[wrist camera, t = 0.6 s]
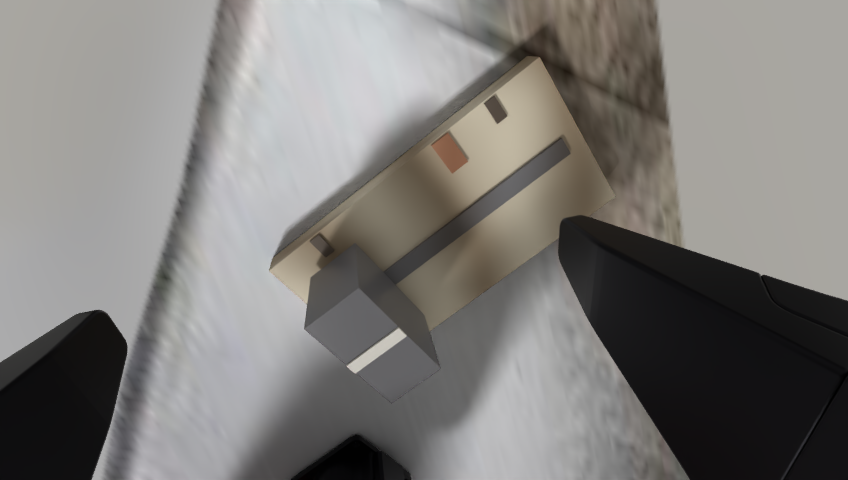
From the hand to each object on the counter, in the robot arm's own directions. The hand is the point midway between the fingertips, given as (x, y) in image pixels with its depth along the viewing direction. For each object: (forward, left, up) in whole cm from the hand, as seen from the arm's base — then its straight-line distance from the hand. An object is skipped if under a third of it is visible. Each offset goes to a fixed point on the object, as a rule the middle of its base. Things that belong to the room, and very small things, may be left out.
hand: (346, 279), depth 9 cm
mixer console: (+1, -7, -15) cm, 16 cm away
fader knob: (-4, -7, -13) cm, 15 cm away
